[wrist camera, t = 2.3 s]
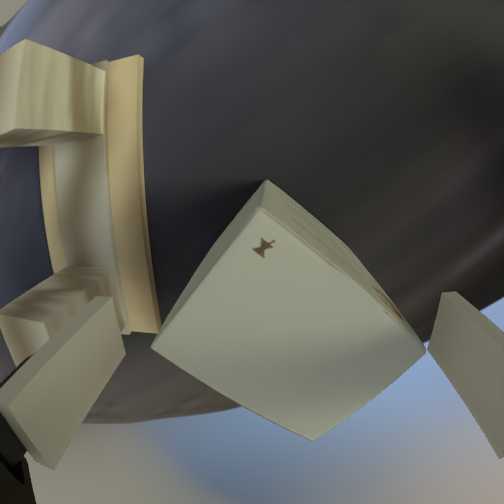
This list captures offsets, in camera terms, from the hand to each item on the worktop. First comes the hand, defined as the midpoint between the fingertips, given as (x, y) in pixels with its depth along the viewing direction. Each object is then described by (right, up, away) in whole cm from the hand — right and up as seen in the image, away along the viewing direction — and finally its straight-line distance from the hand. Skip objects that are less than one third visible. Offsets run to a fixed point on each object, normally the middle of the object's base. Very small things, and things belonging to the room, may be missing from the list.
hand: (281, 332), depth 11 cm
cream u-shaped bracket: (-14, +7, +11) cm, 19 cm away
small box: (+1, +3, +11) cm, 12 cm away
